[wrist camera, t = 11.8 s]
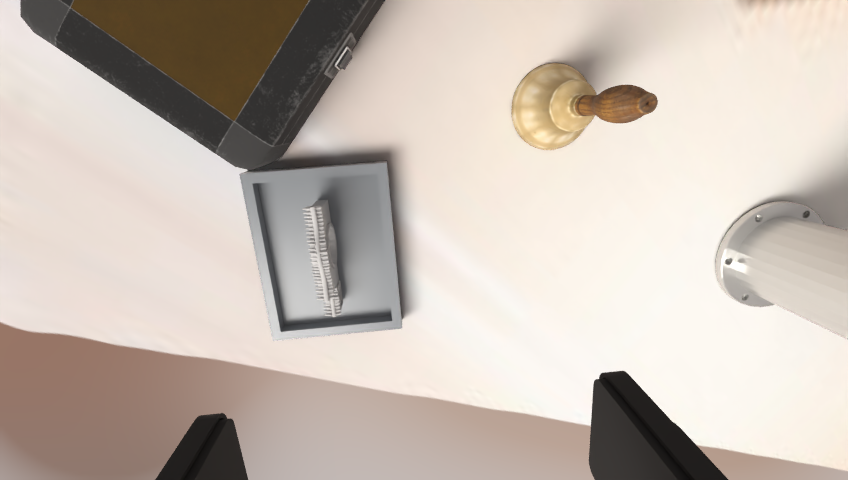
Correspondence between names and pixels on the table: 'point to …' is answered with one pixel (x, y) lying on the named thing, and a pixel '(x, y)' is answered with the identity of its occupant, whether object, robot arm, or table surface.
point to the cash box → (213, 61)
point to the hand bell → (570, 105)
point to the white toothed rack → (324, 256)
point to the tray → (356, 247)
